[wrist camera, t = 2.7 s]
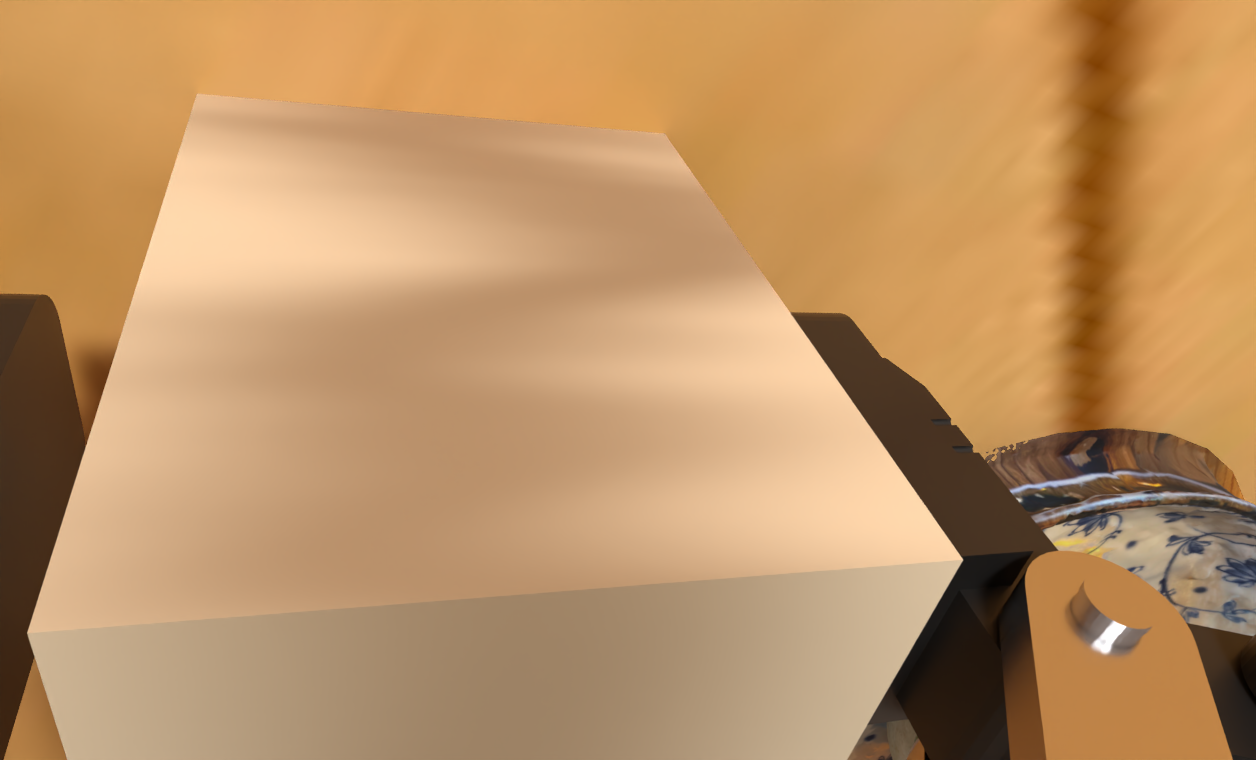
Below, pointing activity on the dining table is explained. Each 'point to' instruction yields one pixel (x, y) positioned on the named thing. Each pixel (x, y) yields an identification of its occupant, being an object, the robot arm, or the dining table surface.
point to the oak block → (469, 467)
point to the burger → (1130, 528)
